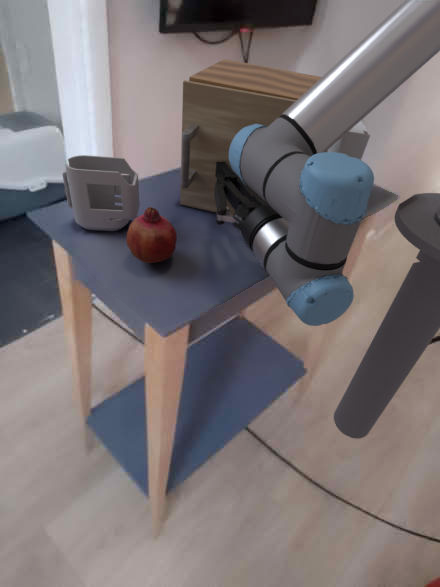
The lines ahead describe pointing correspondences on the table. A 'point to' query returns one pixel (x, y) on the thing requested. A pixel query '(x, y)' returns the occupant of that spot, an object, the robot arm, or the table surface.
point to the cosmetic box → (352, 142)
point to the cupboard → (256, 79)
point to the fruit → (151, 237)
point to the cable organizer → (101, 191)
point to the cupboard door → (216, 134)
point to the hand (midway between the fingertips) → (219, 168)
